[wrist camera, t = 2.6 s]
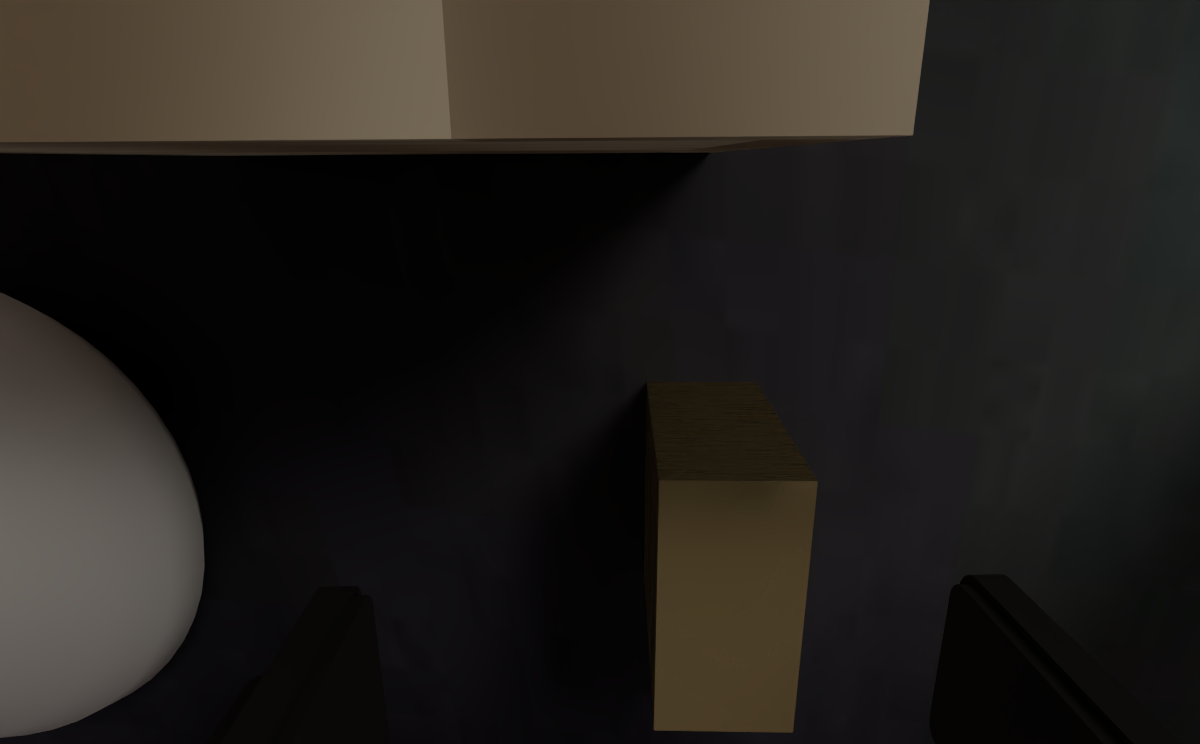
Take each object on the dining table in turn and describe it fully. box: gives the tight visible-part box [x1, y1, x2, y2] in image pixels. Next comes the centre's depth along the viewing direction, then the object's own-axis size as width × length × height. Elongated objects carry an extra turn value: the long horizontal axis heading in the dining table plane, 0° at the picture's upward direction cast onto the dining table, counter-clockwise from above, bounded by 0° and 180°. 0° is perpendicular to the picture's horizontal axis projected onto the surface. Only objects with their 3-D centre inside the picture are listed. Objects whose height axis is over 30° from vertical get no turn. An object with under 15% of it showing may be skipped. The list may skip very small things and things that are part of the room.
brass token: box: [644, 382, 818, 733], centre depth 14 cm, size 2×5×5 cm, turn 1°
